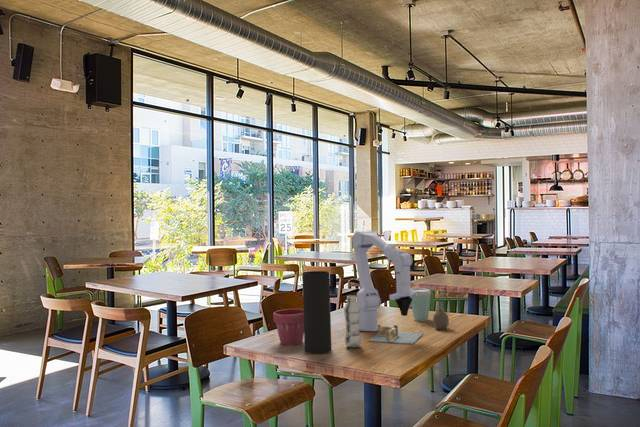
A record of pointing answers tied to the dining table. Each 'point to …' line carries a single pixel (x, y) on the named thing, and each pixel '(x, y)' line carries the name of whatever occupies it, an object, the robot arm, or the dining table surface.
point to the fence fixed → (383, 329)
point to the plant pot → (290, 325)
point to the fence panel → (390, 333)
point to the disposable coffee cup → (421, 304)
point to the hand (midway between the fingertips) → (404, 315)
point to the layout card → (398, 338)
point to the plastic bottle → (352, 322)
